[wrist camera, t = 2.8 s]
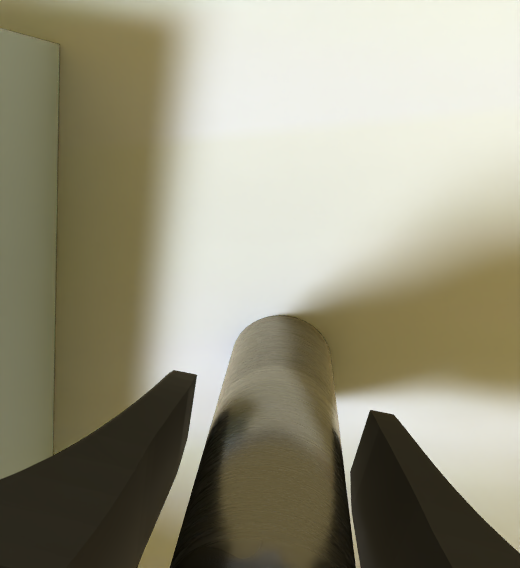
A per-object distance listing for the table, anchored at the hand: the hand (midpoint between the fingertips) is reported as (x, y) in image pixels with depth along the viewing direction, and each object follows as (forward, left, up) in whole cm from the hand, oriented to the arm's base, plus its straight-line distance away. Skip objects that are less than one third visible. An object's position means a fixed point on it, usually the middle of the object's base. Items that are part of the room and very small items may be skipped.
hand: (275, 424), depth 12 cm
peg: (0, 0, -3) cm, 3 cm away
